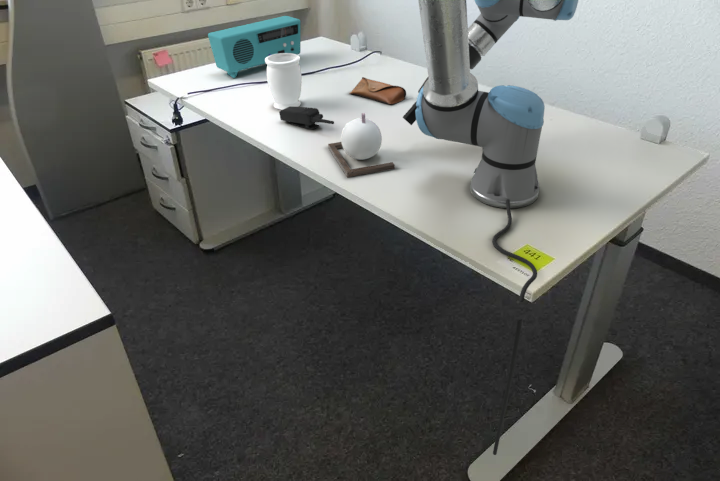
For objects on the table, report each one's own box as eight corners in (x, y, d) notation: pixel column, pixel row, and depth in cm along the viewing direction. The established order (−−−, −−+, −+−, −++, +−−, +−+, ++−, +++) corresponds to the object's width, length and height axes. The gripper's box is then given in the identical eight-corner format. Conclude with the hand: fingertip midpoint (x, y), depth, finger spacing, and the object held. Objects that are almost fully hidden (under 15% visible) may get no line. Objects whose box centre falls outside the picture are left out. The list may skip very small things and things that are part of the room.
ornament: (388, 160, 140) (388, 116, 133) (352, 169, 136) (350, 124, 129) (370, 145, 147) (370, 102, 140) (335, 153, 144) (333, 110, 137)
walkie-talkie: (294, 108, 165) (346, 116, 154) (287, 127, 164) (338, 136, 153) (281, 98, 159) (334, 106, 148) (274, 118, 159) (326, 127, 148)
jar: (280, 114, 166) (275, 65, 158) (264, 104, 173) (258, 57, 165) (310, 106, 171) (306, 58, 163) (293, 97, 178) (288, 50, 170)
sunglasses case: (346, 93, 178) (352, 72, 177) (358, 98, 184) (364, 78, 183) (391, 104, 169) (398, 83, 168) (402, 109, 175) (408, 89, 174)
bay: (394, 169, 136) (394, 164, 135) (347, 177, 133) (347, 173, 132) (371, 140, 150) (371, 136, 149) (328, 147, 147) (328, 143, 146)
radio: (229, 82, 192) (222, 38, 183) (214, 75, 198) (206, 32, 189) (305, 60, 210) (302, 19, 201) (289, 54, 216) (285, 15, 208)
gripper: (493, 64, 131) (426, 139, 136) (467, 50, 141) (406, 120, 147) (475, 44, 127) (407, 122, 132) (450, 31, 137) (388, 104, 142)
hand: (407, 121), depth 139 cm, fingers closed
